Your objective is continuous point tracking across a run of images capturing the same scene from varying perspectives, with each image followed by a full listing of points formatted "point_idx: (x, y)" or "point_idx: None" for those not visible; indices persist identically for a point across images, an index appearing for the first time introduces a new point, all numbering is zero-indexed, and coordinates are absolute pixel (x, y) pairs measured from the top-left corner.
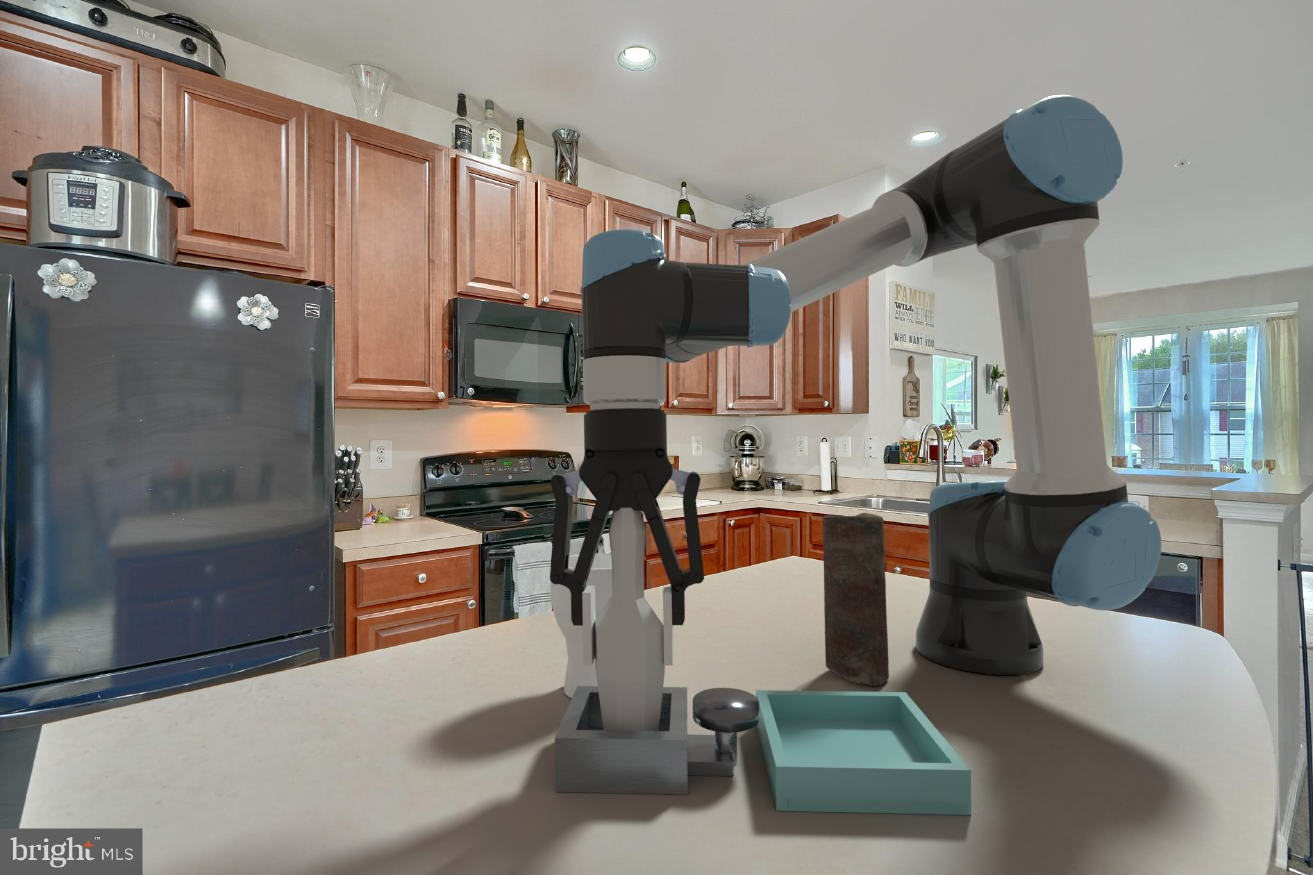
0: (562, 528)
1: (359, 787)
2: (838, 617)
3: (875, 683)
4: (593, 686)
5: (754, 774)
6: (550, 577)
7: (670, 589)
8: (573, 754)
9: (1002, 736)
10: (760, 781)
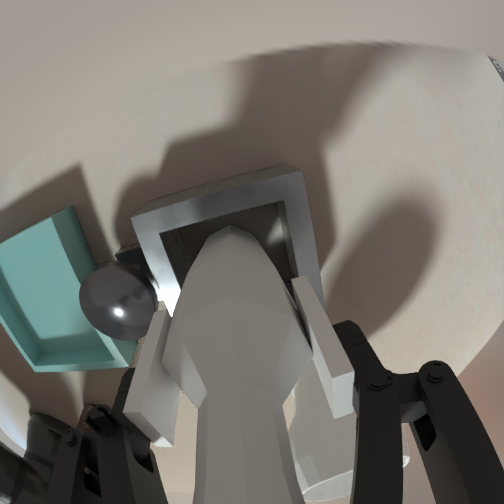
0: (482, 494)
1: (450, 140)
2: None
3: (86, 405)
4: None
5: (104, 258)
6: (448, 368)
7: (140, 428)
8: (273, 173)
9: (7, 347)
10: (96, 247)
